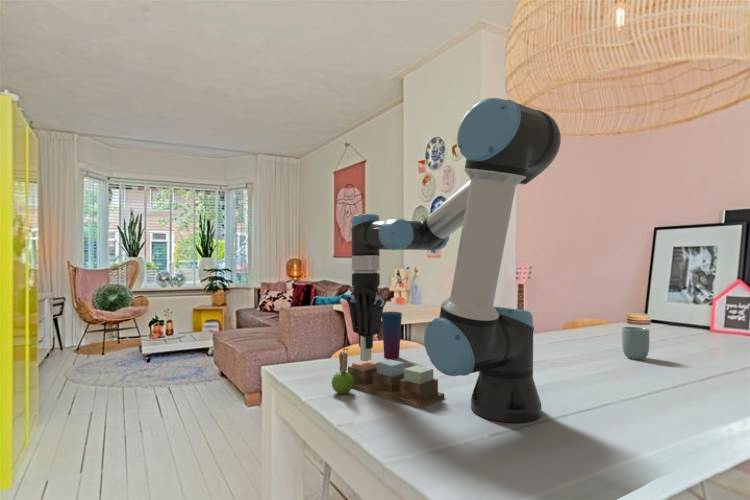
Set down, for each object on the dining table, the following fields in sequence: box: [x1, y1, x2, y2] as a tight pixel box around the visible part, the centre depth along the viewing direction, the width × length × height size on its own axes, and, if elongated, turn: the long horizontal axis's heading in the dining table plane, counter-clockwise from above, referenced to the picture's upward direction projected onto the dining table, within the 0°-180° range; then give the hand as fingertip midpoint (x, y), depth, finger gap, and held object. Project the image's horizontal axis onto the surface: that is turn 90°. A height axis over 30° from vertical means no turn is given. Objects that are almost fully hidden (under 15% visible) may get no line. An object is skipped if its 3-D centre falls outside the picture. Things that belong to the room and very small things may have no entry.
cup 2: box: [621, 326, 650, 361], centre depth 151 cm, size 8×8×10 cm
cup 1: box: [381, 311, 403, 360], centre depth 151 cm, size 7×7×15 cm
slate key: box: [377, 359, 405, 377], centre depth 115 cm, size 5×5×3 cm
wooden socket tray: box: [347, 365, 445, 409], centre depth 115 cm, size 26×10×5 cm, turn 47°
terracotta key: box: [351, 360, 378, 371], centre depth 121 cm, size 5×5×3 cm
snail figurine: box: [331, 347, 353, 395], centre depth 112 cm, size 5×6×12 cm
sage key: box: [404, 364, 434, 385], centre depth 108 cm, size 5×5×3 cm
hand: (365, 360), depth 121 cm, fingers closed
